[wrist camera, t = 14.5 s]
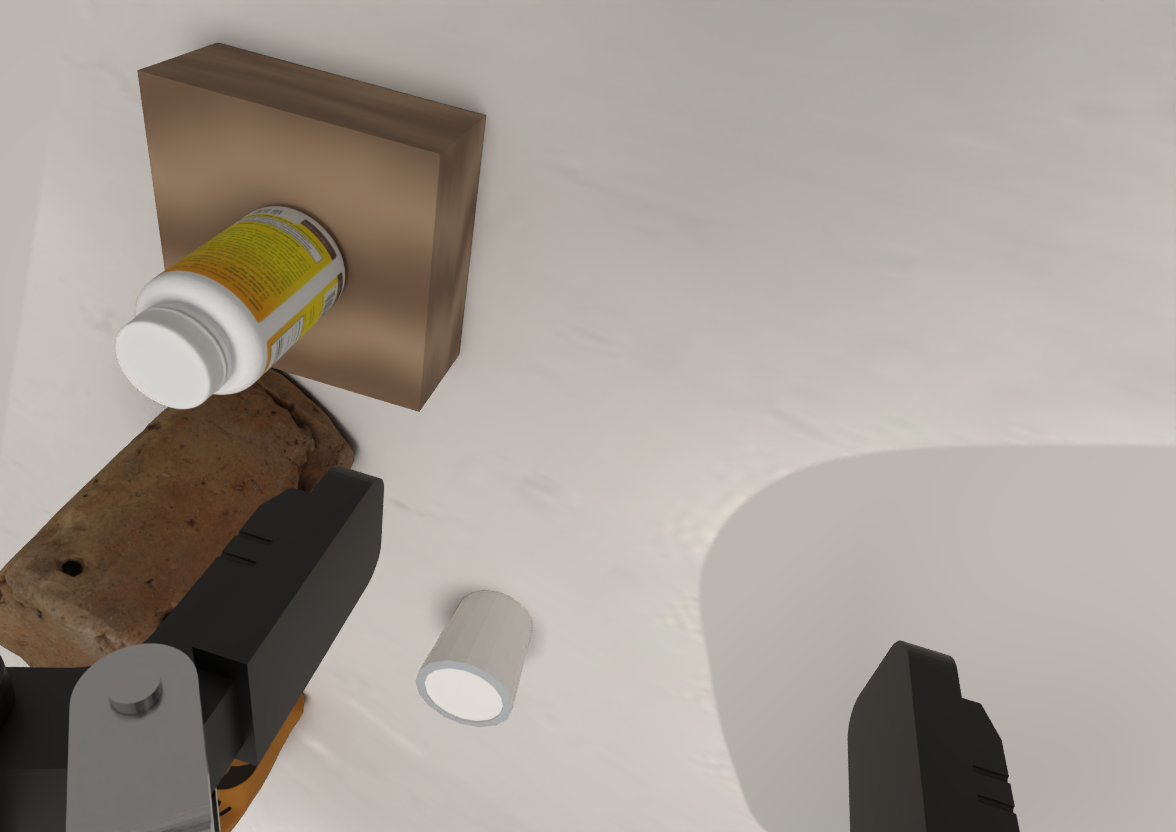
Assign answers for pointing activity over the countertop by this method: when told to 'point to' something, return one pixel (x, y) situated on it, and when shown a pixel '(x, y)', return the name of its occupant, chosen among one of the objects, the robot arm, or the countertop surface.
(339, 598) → the robot arm
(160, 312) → the supplement bottle
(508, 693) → the white cylinder
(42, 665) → the block
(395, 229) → the walnut riser
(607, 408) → the countertop surface
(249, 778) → the coffee package
